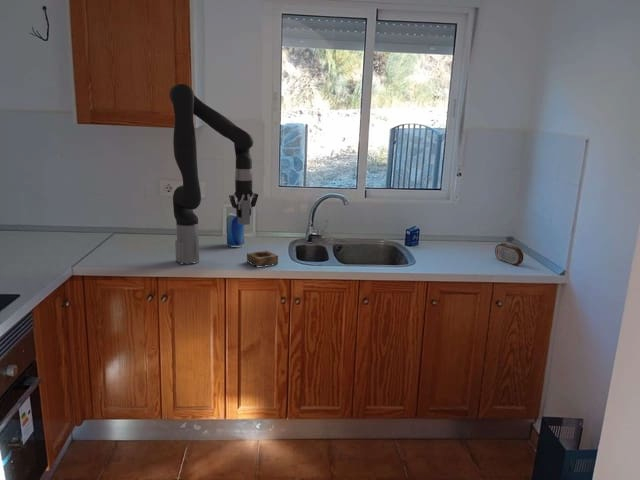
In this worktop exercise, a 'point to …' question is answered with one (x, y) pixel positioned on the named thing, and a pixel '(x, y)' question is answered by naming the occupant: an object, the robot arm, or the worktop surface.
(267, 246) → the worktop surface
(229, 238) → the beer can
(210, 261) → the worktop surface
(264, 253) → the wooden square frame
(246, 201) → the peg
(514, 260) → the tin
